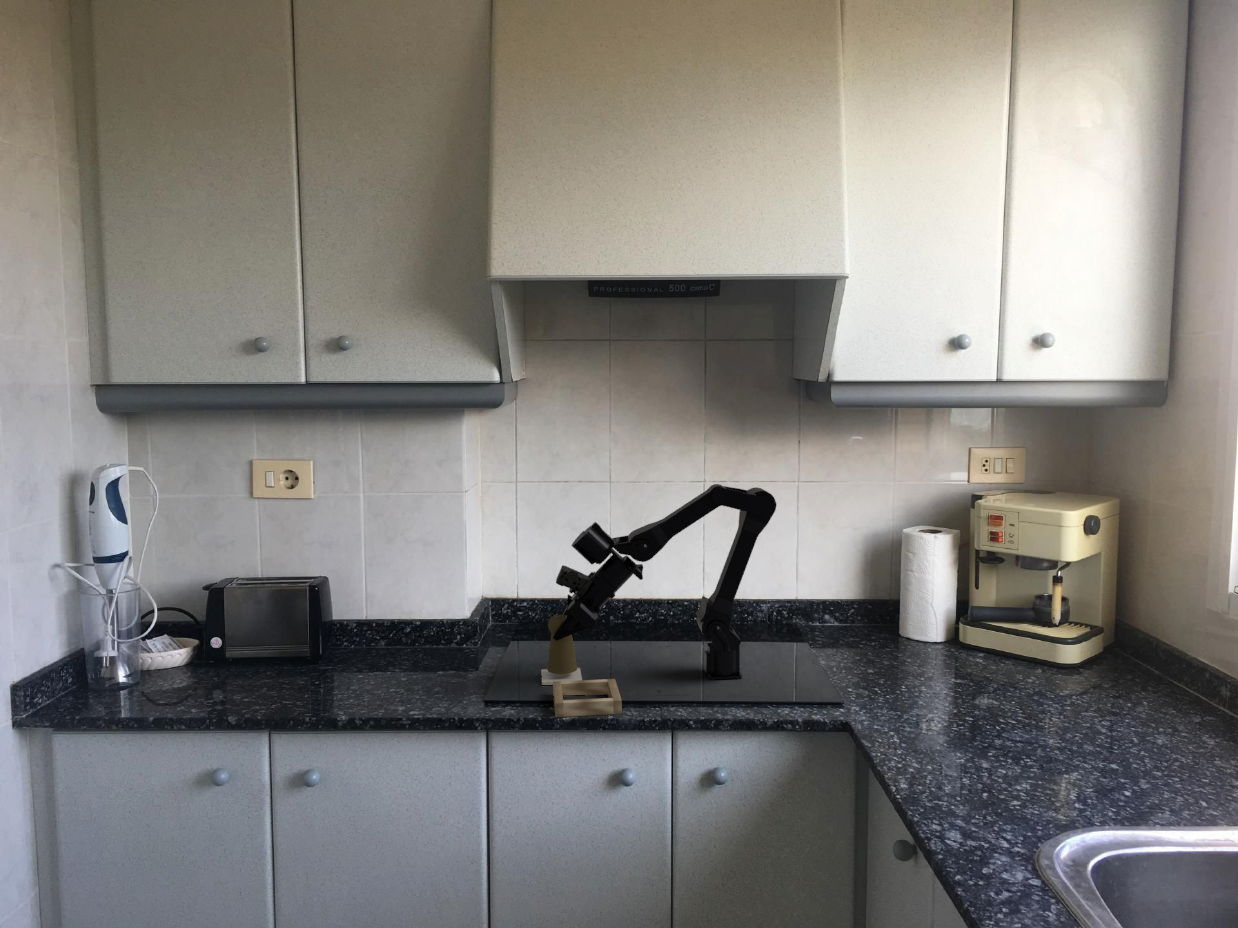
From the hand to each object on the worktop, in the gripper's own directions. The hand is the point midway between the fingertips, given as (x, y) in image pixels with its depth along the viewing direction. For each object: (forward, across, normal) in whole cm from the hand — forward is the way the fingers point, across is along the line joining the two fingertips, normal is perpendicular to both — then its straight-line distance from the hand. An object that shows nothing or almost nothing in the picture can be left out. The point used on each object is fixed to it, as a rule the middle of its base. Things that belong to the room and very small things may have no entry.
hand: (554, 635), depth 182 cm
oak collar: (+2, +15, +11) cm, 18 cm away
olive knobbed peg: (+4, 0, +6) cm, 7 cm away
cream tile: (+6, 0, +7) cm, 9 cm away
